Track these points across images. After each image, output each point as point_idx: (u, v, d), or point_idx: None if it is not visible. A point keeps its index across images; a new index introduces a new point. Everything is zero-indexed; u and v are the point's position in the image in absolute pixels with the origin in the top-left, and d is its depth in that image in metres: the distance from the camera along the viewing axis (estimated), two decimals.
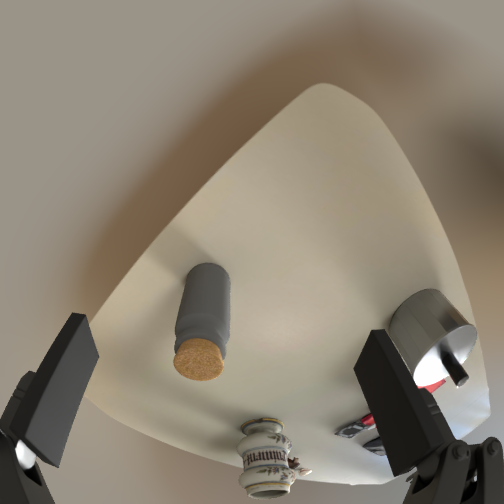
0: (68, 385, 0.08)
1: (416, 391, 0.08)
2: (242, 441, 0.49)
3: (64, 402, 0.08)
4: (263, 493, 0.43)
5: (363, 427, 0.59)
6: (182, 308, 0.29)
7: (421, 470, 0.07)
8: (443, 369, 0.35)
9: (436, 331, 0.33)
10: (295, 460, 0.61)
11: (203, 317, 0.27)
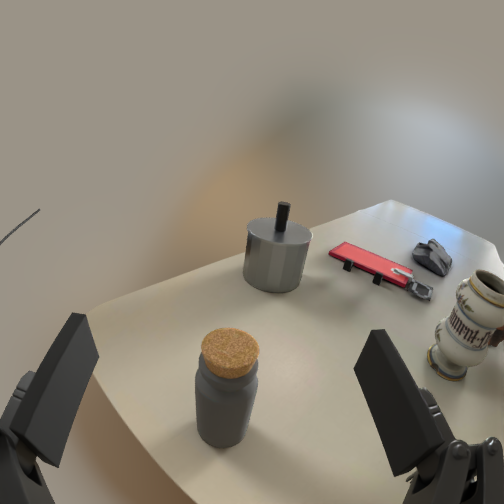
0: (68, 385, 0.08)
1: (416, 391, 0.08)
2: (461, 361, 0.33)
3: (64, 402, 0.08)
4: (503, 292, 0.32)
5: (414, 282, 0.64)
6: (202, 404, 0.23)
7: (421, 470, 0.07)
8: (293, 229, 0.58)
9: (255, 243, 0.54)
10: None
11: (200, 371, 0.24)
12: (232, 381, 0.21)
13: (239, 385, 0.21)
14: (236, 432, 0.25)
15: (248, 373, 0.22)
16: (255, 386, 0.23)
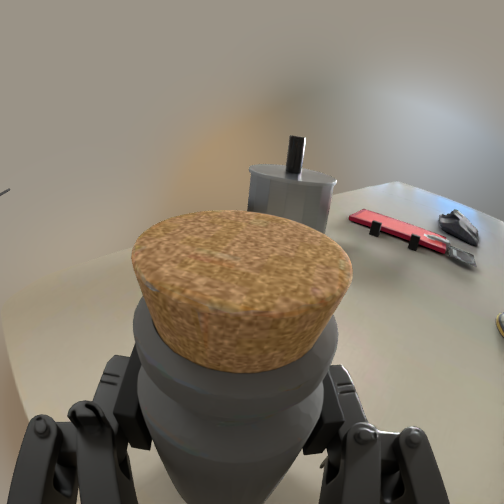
0: None
1: None
2: None
3: None
4: None
5: (452, 248, 0.49)
6: (163, 453, 0.07)
7: (328, 457, 0.08)
8: (310, 173, 0.42)
9: (262, 186, 0.38)
10: None
11: None
12: (259, 384, 0.05)
13: (287, 398, 0.05)
14: (259, 499, 0.09)
15: (316, 348, 0.06)
16: (320, 394, 0.07)
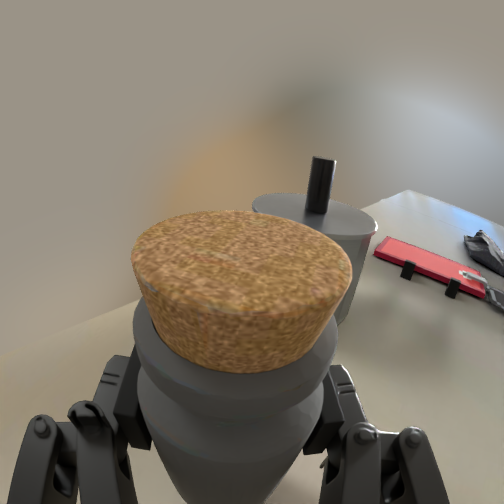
0: None
1: None
2: None
3: None
4: None
5: (489, 289, 0.37)
6: (163, 454, 0.07)
7: (328, 457, 0.08)
8: (339, 210, 0.30)
9: None
10: None
11: None
12: (258, 384, 0.05)
13: (287, 399, 0.05)
14: (258, 500, 0.09)
15: (315, 348, 0.06)
16: (320, 394, 0.07)
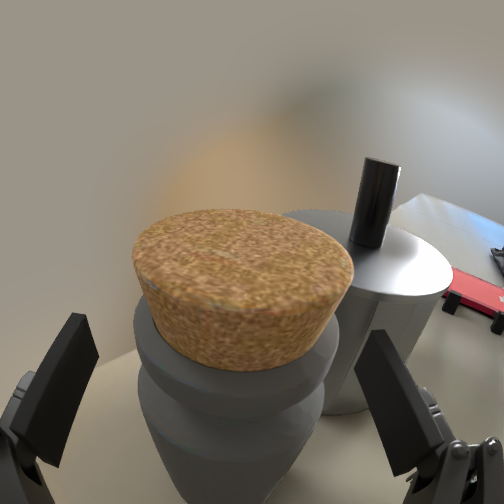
0: (68, 385, 0.08)
1: (416, 391, 0.08)
2: None
3: (64, 402, 0.08)
4: None
5: None
6: (163, 453, 0.07)
7: (421, 470, 0.07)
8: (394, 239, 0.19)
9: None
10: None
11: None
12: (260, 383, 0.05)
13: (288, 397, 0.05)
14: (259, 499, 0.09)
15: (317, 346, 0.06)
16: (321, 393, 0.07)
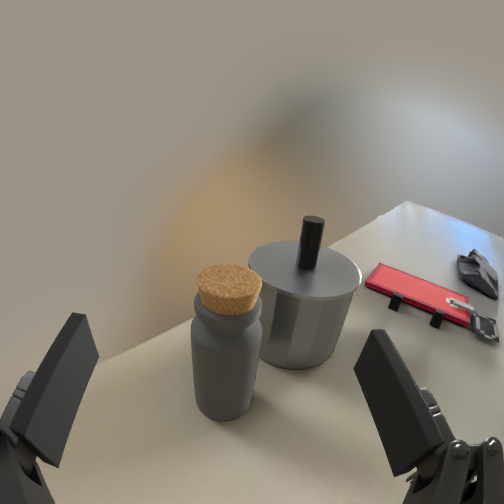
0: (68, 385, 0.08)
1: (416, 391, 0.08)
2: None
3: (64, 402, 0.08)
4: None
5: (475, 316, 0.40)
6: (199, 358, 0.21)
7: (421, 470, 0.07)
8: (327, 261, 0.34)
9: (266, 295, 0.29)
10: None
11: (196, 319, 0.22)
12: (233, 318, 0.19)
13: (241, 324, 0.19)
14: (240, 396, 0.23)
15: (251, 310, 0.20)
16: (259, 332, 0.22)
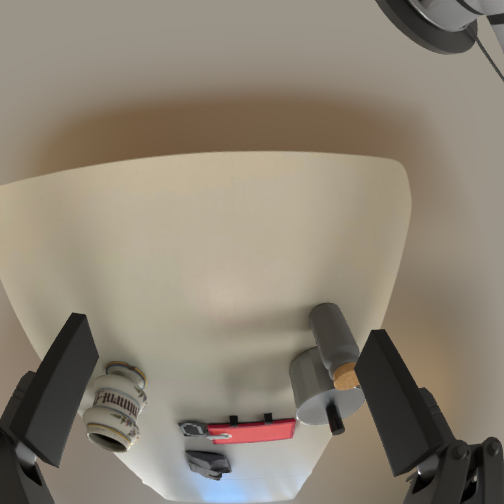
0: (68, 385, 0.08)
1: (416, 391, 0.08)
2: (107, 376, 0.46)
3: (64, 402, 0.08)
4: (98, 439, 0.39)
5: (203, 433, 0.64)
6: (342, 336, 0.39)
7: (421, 470, 0.07)
8: (321, 416, 0.45)
9: None
10: None
11: (356, 351, 0.38)
12: (336, 366, 0.36)
13: (332, 367, 0.36)
14: (315, 329, 0.44)
15: (332, 374, 0.36)
16: (325, 366, 0.39)
